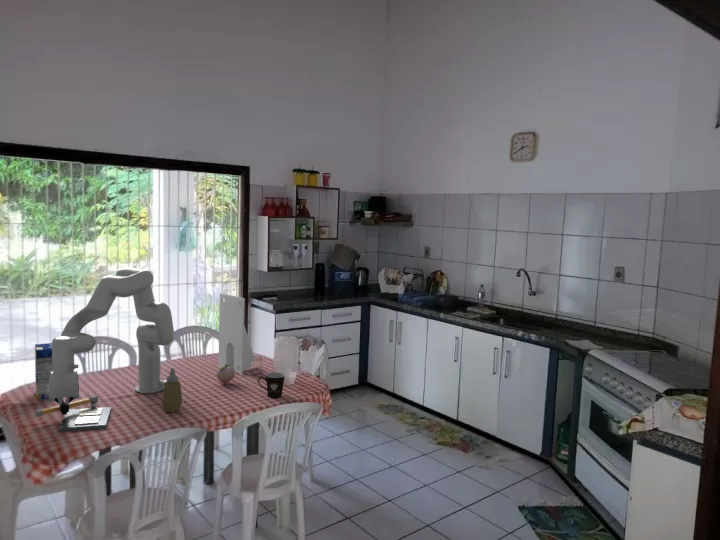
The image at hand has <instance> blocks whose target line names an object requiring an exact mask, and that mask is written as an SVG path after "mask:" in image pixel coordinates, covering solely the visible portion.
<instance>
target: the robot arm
mask: <svg viewBox="0 0 720 540" xmlns="http://www.w3.org/2000/svg"><path fill="white" fill-rule="evenodd" d="M153 282H154V275H153V273H152V272H151V271H150V270H148V269H144V268H135V267H126V266H125V267H121V268H119V269H117V271H116V273H115V275H105V276H103V277H102V278H101V279H100V280H99V282H98V284H97V286H96V288H95V290H94V292H93V294H91V297H90V299H89V301H88V303H87V304H86V305H85V307H83V308H82V309H80V310H79V311H78V312H77V313H76V314H74V315H73V316H71V318H69V320H68V322H66V324H65V326H64V328H63V330H62V332H61V334H60V336H57V337H54V338H53V339H52V341H51V343H52V364H53V371H52V372H51V375H50V382H49V399H48V401H51V402H56V404H58V405H60V411H59V412H60V413H61V415H62V416H65V415H67V412H69V409H70V408H69V403H70V402H73V401H75V400H79V398H80V381H79V374H78V371H77V369H79V366H80V365H79V364H76V362H75V354H82V353H83V354H85V353H88V352H91V351H92V350H93V349H94V348H95V347H96V343H97V342H96V338H95V337H94V336H93V335H92V334H89V333H85V332H82V330H83V328H85V327H86V325H88V324H90V323H92V322H93V321H96V320H98V319H102V318H104V317H105V316H107V315H108V314H109V312H110V309H111V307H112V305H113V303H114V302H115V301H116V298H117V297H118V298H128V297H132V298H133V304H134V309H135V314H136V317H137V319H138V320H139V321H143V322H142V323H140V324H139V325H138V326H137V328H136V332H135V336H136V342H137V348H138V349H137V350H138V385H136V386H134V391H135V392H136V393H138V392H139V394H154V393H158V392H162V391H164V383H165V382H167V379H166V380H163V379H162V377H161V348H160V346H168V345H170V344H171V343H172V342H173V341H174V338H175V329H174V322H173V317H172V310H171V309H170V306H169V305H168V304H167V303H165V302H161V301H157V300H155V296H154V292H153V289H152V285H153ZM64 398H65V401H64Z"/></svg>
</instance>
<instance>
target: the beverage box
mask: <svg viewBox="0 0 720 540" xmlns="http://www.w3.org/2000/svg"><path fill="white" fill-rule="evenodd" d="M34 366H35V370H34V371H35V372H34V373H35V374H34V376H35V396H36V400H37V401H40V399H42V400H49V399H48V398H49V382H50V375H51V372H52V371H53V364H52V342H51V343H50V342H49V343H38V344H34ZM46 398H47V399H46Z"/></svg>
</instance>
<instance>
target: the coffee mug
mask: <svg viewBox="0 0 720 540" xmlns="http://www.w3.org/2000/svg"><path fill="white" fill-rule="evenodd" d="M285 375H286V374H285V373H282V372H277V371H276V372H275V371H273V372H268V373H266V374H265V377H264V376H261V377H258V378H257V383H258V385H259V386H260V387H262V388H263V389H264V390H266V391H267V392H266V393H267V397H268V398H269V397H271V398H270V399H280V398H282V394H283V388H284V381H285ZM260 379H263V380H264V381H265V382H266V387H265V386H263V385H262V384H261V383H260ZM279 397H280V398H279Z"/></svg>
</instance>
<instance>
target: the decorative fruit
mask: <svg viewBox="0 0 720 540" xmlns="http://www.w3.org/2000/svg"><path fill="white" fill-rule="evenodd" d="M235 375H236V373H235V371H234V367H231V366H230V365H226V364H225V366H223V367H221V368H220V367H219V368H218V369H217V371H216V378H217V379H218V381H219V382H220V383H221V384H224V385H226V384H227V383H230V382H231V381H232V380H234V378H235ZM225 383H226V384H225Z"/></svg>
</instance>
